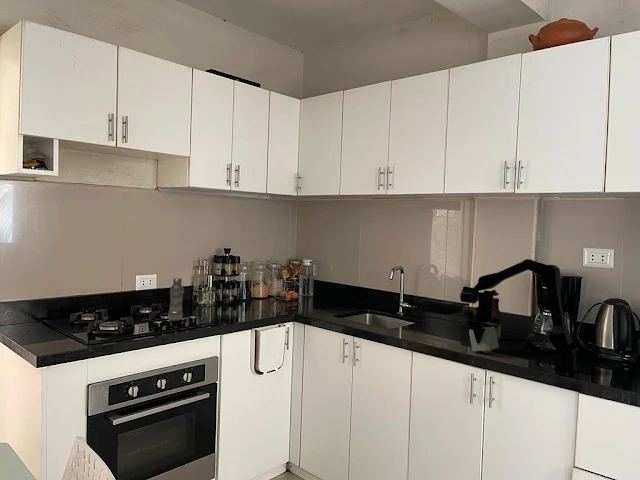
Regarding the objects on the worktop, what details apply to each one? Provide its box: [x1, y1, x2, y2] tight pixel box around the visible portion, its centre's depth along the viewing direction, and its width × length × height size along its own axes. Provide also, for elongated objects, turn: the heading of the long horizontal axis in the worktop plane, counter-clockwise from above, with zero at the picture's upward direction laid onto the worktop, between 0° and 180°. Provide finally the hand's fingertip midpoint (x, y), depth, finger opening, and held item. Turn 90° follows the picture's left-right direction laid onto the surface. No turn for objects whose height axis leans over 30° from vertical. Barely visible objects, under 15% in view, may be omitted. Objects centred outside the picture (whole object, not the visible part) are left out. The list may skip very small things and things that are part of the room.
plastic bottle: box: [167, 277, 185, 322], centre depth 234 cm, size 6×7×20 cm
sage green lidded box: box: [468, 326, 500, 352], centre depth 207 cm, size 8×8×9 cm
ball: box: [481, 349, 494, 354], centre depth 206 cm, size 5×5×5 cm
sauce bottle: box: [492, 297, 502, 342], centre depth 233 cm, size 6×6×20 cm
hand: (483, 342), depth 207 cm, fingers closed on sage green lidded box, 8 cm apart
